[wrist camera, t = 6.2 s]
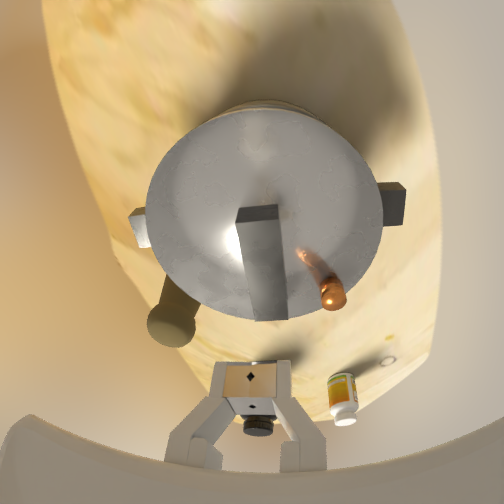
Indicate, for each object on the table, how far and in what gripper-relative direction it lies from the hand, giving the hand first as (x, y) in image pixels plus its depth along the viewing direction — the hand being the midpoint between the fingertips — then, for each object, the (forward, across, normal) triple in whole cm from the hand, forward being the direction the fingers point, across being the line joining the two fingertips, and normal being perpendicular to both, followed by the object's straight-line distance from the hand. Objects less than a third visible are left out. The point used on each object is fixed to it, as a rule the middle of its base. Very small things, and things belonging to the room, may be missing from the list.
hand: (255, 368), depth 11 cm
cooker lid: (+11, 0, 0) cm, 11 cm away
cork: (+21, +11, +11) cm, 26 cm away
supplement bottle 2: (+20, -10, +40) cm, 46 cm away
